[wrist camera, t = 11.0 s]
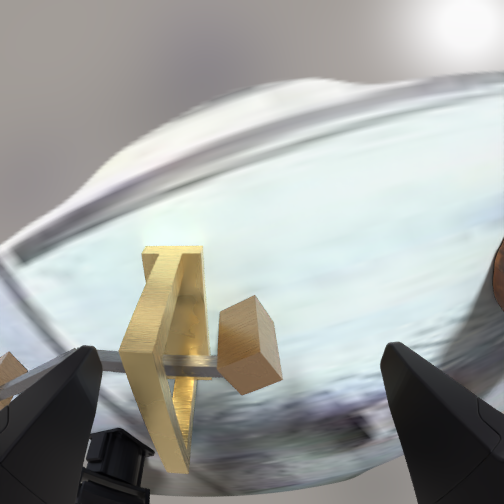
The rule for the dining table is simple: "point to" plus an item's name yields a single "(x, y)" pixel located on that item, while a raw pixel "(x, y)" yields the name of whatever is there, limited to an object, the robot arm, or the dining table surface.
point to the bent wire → (188, 356)
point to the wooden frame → (167, 347)
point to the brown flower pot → (499, 277)
